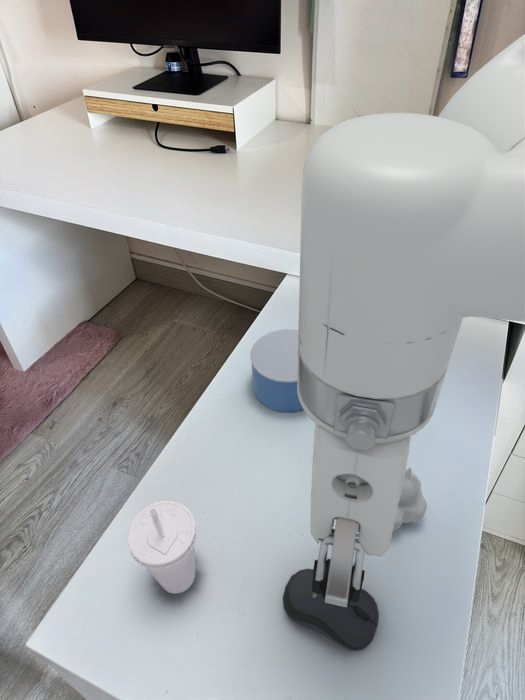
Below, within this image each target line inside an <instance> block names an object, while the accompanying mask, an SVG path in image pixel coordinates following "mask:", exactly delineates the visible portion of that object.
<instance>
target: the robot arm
mask: <svg viewBox="0 0 525 700" xmlns="http://www.w3.org/2000/svg"><path fill="white" fill-rule="evenodd" d="M300 197H301V198H300V199H301V200H300V201H301V202H300V246H299V247H300V252H299V293H298V294H299V295H298V296H299V298H298V328H297V330H298V339H299V341H298V375H297V393H298V397H299V401H300V403H301V405H302V407H303V409H304V410H303V411H304V413H306V415H307V416H308V418H310V420H312V421H313V423H314V434H313V435H314V436H313V451H312V467H311V469H312V470H311V489H310V523H309V524H310V529H309V530H310V534H311V537H312V538H313V540H314V541H315V542H316V543H317V544H319V549H318V557H317V559H314V564H313V568H312V569H313V581H312V592H314V593H316V594H320V595H322V598H323V599H324V600H325V603H330V604H334V605H338V606H343V607H347V603H350V601H351V602H358V601H359V596H360V592H361V588H362V589H363V585H364V581H365V574H366V573H365V570H366V569H365V570H364V569H363V568H364V561H365V555H367V556H373V557H379V558H382V557H384V556H385V555H386V554H387V553H388V552H389V550H390V545H391V541H392V537H393V532H394V530H393V528H394V524H395V519H396V515H397V510H398V506H399V501H400V497H401V492H402V487H403V482H404V477H405V471H406V470H407V465H408V460H409V452H410V445H411V439H412V437H413V436H414V435H416V434H417V433H418V432H420V431H421V430H423V429H424V428H425V426H426V425H427V424H428V423H429V422H430V421H431V419H432V417H433V415H434V413H435V409H436V407H437V404H438V400H439V397H440V394H441V390H442V388H443V383H444V381H445V378H446V374H447V371H448V368H449V365H450V361H451V358H452V355H453V351H454V348H455V344H456V342H457V339H458V334H459V332H460V329H461V325H462V323H463V319H465V318H469V317H470V318H471V317H473V318H483V319H495V320H496V319H497V320H503V321H504V320H505V321H512V322H522V323H523V322H524V323H525V33H524V34H522V35H521V36H520V37H518V39H516V40H515V41H513V42H512V43H510V44H509V45H508V46H506V47H505V48H504V49H503V50H501V51H500V52H499V53H498V54H496V55H495V56H494V57H492V58H491V59H490V60H489V61H488V62H487V63H485V64H484V65H483V66H482V67H481V68H479V69H478V70H477V71H475V73H474V74H472V75H471V77H469V78H468V79H467V80H466V82H465V83H464V84H463V85H462V86H461V87H460V88H459V89H458V90H457V91H456V92H455V93H454V94H453V95H452V97H451V98H450V99H449V101H448V102H447V103H446V105H445V106H444V107H443V109H442V110H441V111H440V113H439V115H438V116H436V115H431V114H424V113H416V112H415V113H414V112H413V113H412V112H382V113H374V114H373V113H372V114H367V115H363V116H358V117H354V118H350V119H347V120H344V121H342V122H339V123H337V124H335V125H333V126H332V127H330V128H329V129H328V130H326V131H325V132H323V133H322V134H321V135H319V137H318V138H317V139H316V140H315V142H314V143H313V144H312V145H311V148H309V152H308V154H307V156H306V159H305V162H304V165H303V169H302V183H301V195H300ZM329 545H330V546H331V547H332V548H331V555H330V558H328V552H329Z"/></svg>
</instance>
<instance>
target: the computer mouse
mask: <svg viewBox="0 0 525 700" xmlns="http://www.w3.org/2000/svg"><path fill="white" fill-rule="evenodd" d="M313 569H314V568H304V569H300V570H298V571H296V572H295V573H294V574H292V575H291V576H290V577H289V579H288V581H287V583H286V584H285V587H284V591H283V595H282V605H283V610H284V611H285V613H286V614H287V616H288V617H289V618H290V619H291V620H292V621H294V622H295V623H298V624H299V625H300V626H303V627H306V628H309V629H312V630H314V631H317V632H319V633H321V634H322V635H324V636H325V637H327V638H329V640H331V641H332V642H334V643H336V644H337V645H339V646H341V647H342V648H344V649H348V650H350V651H361V650H363V649H366V648H367V647H368V646H369V645H370V644H371V643H372V641H373V639H374V638H375V635H376V632H377V629H378V625H379V621H380V611H379V607H378V604H377V602H376V600H375V598H374V597H373V596H372V595H371V594H370V593H369V592H368V591H366V590H365V589H364V588H363V587H362V588H361V592H360V596H359V601H358V602H351V601H350V603H347V607H343V606H338V605H334V604H330V603H325V600H324V599H323V598H322V595H320V594H316V593H314V592H312V581H313Z"/></svg>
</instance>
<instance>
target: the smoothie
mask: <svg viewBox="0 0 525 700" xmlns="http://www.w3.org/2000/svg"><path fill="white" fill-rule="evenodd" d="M197 526H198V525H197V523H196V519H195V517H194V514H193V513H192V512H191V510H190V509H189V508H187V507H186V506H185V504H182V503H180V502H177V501H174V500H160V501H156V502H153V503H150V504H148V505H147V506H145V507H144V508H142V509H141V510H140V511H139V512H137V514H136V515H135V516H134V518H133V519H132V521H131V522H130V524H129V527H128V528H127V529H128V530H127V536H126V541H127V542H126V543H127V547H128V549H129V553H130V555H131V557H132V558H133V560H134V561H135V562H136V563H137V564H139V565H140V566H142V567H144V568H145V569H146V570H147V571H148V572H149V573H150V574H151V576H152V577H153V578H154V579H155V581H157V583H158V584H159V585H160V586H161V587H162V588H163V590H164V591H166V592H167V593H169V594H175V595H176V594H177V595H178V594H182V593H184V592H186V591H187V590H188V589H189V588H191V586H192V585H193V583H194V582H195V579H196V554H195V553H196V549H195V545H196V542H197V537H198V527H197Z"/></svg>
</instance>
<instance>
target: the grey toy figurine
mask: <svg viewBox="0 0 525 700" xmlns="http://www.w3.org/2000/svg"><path fill="white" fill-rule="evenodd" d="M421 488H422V484H421V481H420V478H419V477H418V476H417V474H416V473H415V472H414V471H412V467H409V468H408V469H406V471H405V477H404V482H403V487H402V492H401V497H400V501H399V506H398V510H397V515H396V519H395V524H394V528H393V531H397V530H399V529H400V528H401V527H402V524H409V523H413V524H414V523H420V522H421V521H422V520H423V518H424V516H425V513H426V511H427V509H428V508H427V507H428V506H427V505H428V503H427V500H426V498H425V496H424V495H423V491H422V489H421Z"/></svg>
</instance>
